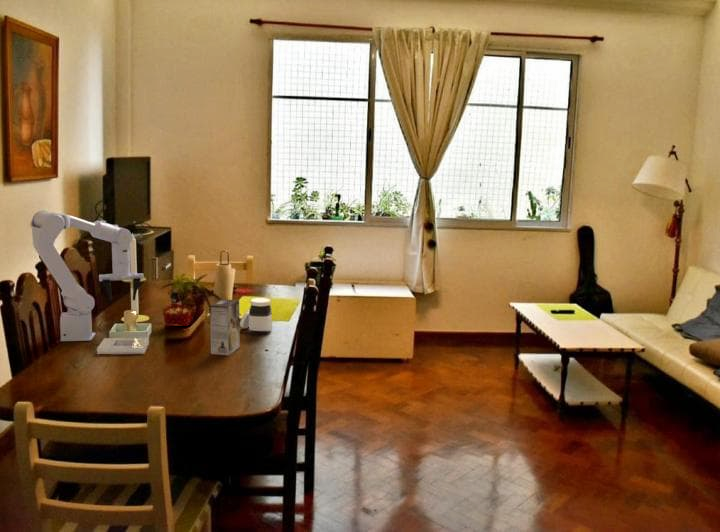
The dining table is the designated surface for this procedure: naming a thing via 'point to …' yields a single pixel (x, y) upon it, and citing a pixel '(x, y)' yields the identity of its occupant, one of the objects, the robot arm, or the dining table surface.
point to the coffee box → (224, 326)
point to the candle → (133, 270)
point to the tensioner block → (123, 346)
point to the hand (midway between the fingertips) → (122, 300)
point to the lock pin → (130, 320)
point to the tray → (141, 332)
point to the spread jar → (258, 317)
